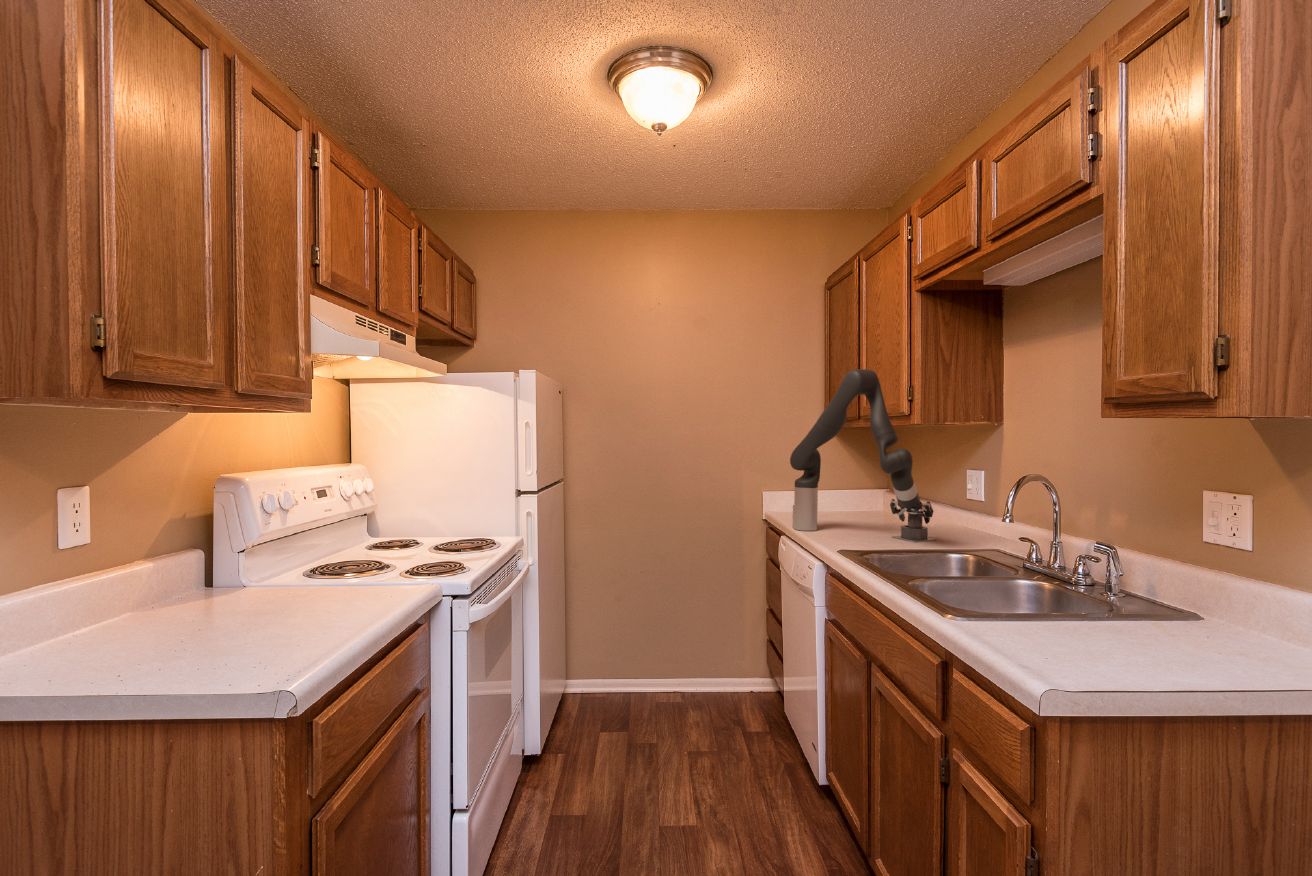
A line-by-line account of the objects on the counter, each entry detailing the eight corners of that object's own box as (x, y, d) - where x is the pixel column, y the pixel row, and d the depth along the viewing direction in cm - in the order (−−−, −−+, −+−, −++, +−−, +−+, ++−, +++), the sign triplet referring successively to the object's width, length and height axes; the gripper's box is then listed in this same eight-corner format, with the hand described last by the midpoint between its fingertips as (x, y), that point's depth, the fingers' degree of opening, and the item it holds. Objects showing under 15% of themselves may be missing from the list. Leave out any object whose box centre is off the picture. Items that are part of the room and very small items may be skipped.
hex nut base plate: (891, 537, 235) (891, 525, 235) (912, 535, 240) (912, 524, 240) (915, 542, 225) (915, 529, 225) (936, 540, 230) (936, 528, 230)
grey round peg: (904, 537, 234) (904, 510, 233) (914, 536, 236) (914, 509, 236) (915, 539, 229) (916, 512, 229) (925, 538, 231) (926, 511, 231)
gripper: (929, 485, 222) (937, 514, 231) (888, 483, 231) (898, 511, 240) (924, 501, 218) (933, 530, 227) (883, 498, 227) (893, 526, 236)
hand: (915, 520), depth 234 cm, fingers open, 8 cm apart
